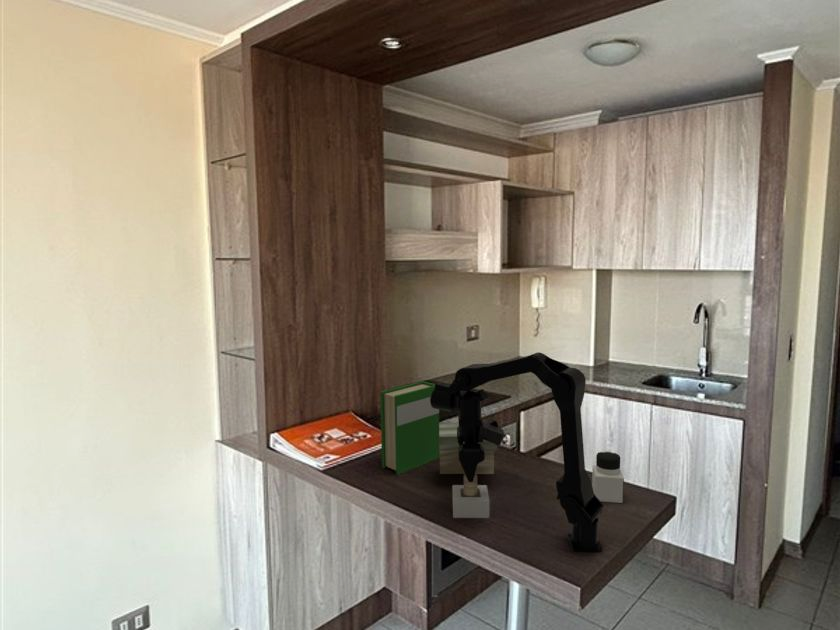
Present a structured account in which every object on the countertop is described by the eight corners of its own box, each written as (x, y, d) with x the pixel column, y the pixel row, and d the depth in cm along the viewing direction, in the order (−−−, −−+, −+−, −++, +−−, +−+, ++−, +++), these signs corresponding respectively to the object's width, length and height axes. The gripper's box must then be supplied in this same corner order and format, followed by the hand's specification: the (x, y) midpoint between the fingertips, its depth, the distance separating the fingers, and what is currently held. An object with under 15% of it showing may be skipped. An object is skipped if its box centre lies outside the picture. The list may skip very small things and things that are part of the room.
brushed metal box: (497, 489, 153) (497, 437, 151) (439, 488, 154) (439, 436, 152) (493, 471, 165) (493, 423, 163) (439, 471, 166) (439, 422, 164)
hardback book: (398, 475, 163) (396, 396, 160) (381, 467, 169) (380, 391, 166) (439, 458, 176) (438, 385, 172) (423, 452, 181) (422, 381, 178)
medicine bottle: (623, 503, 144) (624, 459, 142) (594, 501, 145) (595, 457, 144) (618, 491, 151) (620, 449, 149) (591, 489, 152) (593, 448, 151)
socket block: (489, 518, 137) (489, 501, 136) (453, 517, 137) (453, 500, 137) (486, 501, 146) (486, 485, 145) (452, 501, 146) (452, 484, 146)
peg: (477, 512, 140) (477, 478, 139) (463, 512, 140) (463, 478, 139) (476, 506, 143) (476, 473, 142) (463, 506, 143) (463, 473, 142)
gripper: (506, 427, 129) (505, 490, 131) (498, 404, 147) (497, 460, 149) (458, 427, 129) (458, 490, 131) (456, 404, 148) (456, 459, 150)
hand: (469, 474), depth 141 cm, fingers open, 9 cm apart
